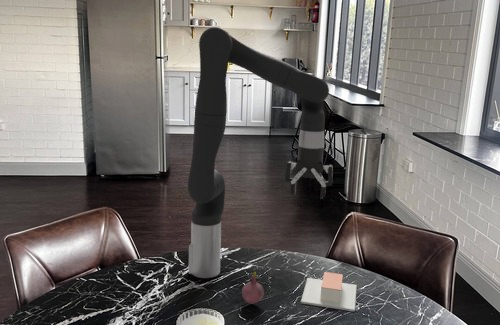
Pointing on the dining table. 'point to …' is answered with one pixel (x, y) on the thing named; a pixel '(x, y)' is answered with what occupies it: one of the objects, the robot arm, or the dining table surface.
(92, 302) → the dining table surface
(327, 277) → the card box
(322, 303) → the mat
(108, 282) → the dining table surface
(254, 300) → the vegetable
